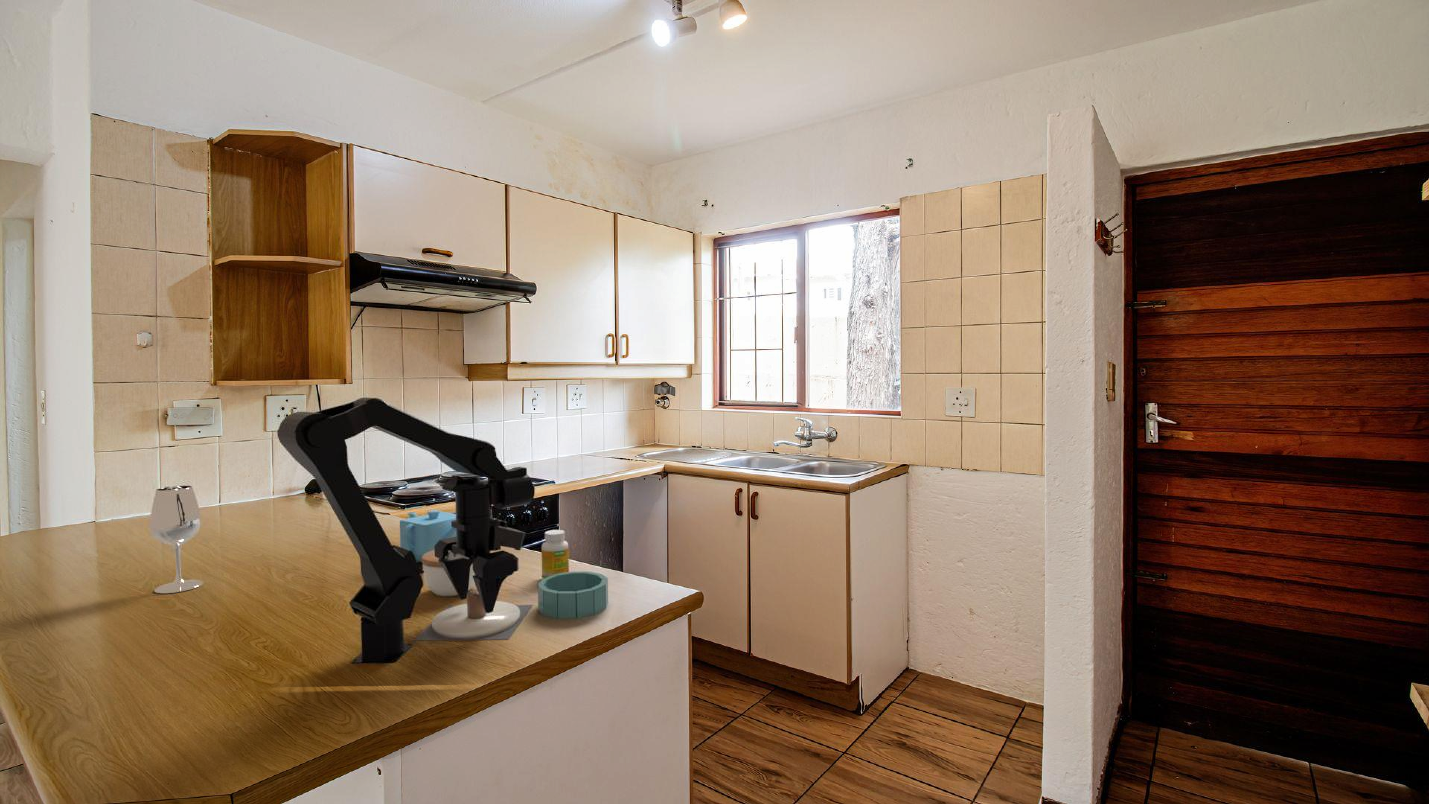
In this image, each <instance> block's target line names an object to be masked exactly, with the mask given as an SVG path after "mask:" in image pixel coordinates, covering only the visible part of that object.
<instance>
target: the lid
mask: <svg viewBox="0 0 1429 804" xmlns="http://www.w3.org/2000/svg"><path fill="white" fill-rule="evenodd" d="M516 605H517V604H513V603H511V602H507V601H502V600H501V601H500V600H496V603H495V606H494V609H493V612H491V613H486V612H485V610H484V607H483V605H482V602H481V599H480V596H479V593H478V590H477V589H473V590H472V589H471V590H469V591H468V593H467V598H466V603H463V604H459V605H454V606H455V607H452V608H449V609H447V608H446V609H447V610H446V609H444V610H443V611H441V612H439V613H437V614H436V615H435V616H434V617H433V618H432V619H431V623H432V630H433V632H434V633H436V634H437V635H440V636H443V637H447V638H459V639H463V638H476V637H483V636H488V635H492V634H495V633H499V632H501V631H504V630H506V629H508V628H510V627H512V626H514V625H515V624H516V623H517V622H518V621H519V619H520V609H519V608H518V607H517V606H516Z"/></svg>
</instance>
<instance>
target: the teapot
mask: <svg viewBox="0 0 1429 804" xmlns="http://www.w3.org/2000/svg"><path fill="white" fill-rule="evenodd" d="M406 513H407V515H408V516H409V518H405V519H401V520H399V539H400V540H399V541H400V546H399V547H401V548H404V549H407V550H410V551H412V552H413V554H414V556H415V559H416V562H417V564H419V563H422V556H423V555H424V554H425V553H427V552H430V551H433V550H435V549H434V546H435V545H436V544H437V542H438V541H439V540H442V539H447V538H452V537H456V528H453V527H451V521H453V520H456V513H453V512H448V511H447V512H446V511H443V510H442V511H440V510H439V509H433V510H432V509H431V510H429V511H427V514H423V515H417V514H416V513H415V512H412V511H408V512H406Z"/></svg>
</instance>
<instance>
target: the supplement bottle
mask: <svg viewBox="0 0 1429 804" xmlns="http://www.w3.org/2000/svg"><path fill="white" fill-rule="evenodd" d="M565 534H566V532H565V530H563V529H551V530H547V531H545V532H544V540H545V542H543V543H542V544H541V578H542V579H541V580H543V579H544V578H547V577H549V576H552V575H555V574H560V573H566V572H570V571H569V570H570V568H569V567H570V561H569V559H570V558H569V556H570V555H569V553H570V552H569V543H568V542H567V541H566V540H565V536H566V535H565Z"/></svg>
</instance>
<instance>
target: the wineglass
mask: <svg viewBox="0 0 1429 804" xmlns="http://www.w3.org/2000/svg"><path fill="white" fill-rule="evenodd" d="M200 511H201V510H200V507H199V503H198V500H197V497H196V494H195V490H194V488H193V486H192V485H173V486H172V485H171V486H165V487H160V488H156V489H155V493H154V497H153V501H152V507H151V513H150V521H149V527H150V528H149V529H150V532H151V534H152V536H153V538H155V539H156V540H157V541H158V542H160V543H162V544H165V545H167V546H172V547H173V551H174V555H175V558H174V559H175V573H176V574H175V579H174V580H173V581H172V582H169V583H165V584H161V585H160V586H157V587H156V588H154V591H153V592H155V593H157V594H167V595H168V594H176V593H183V592H186V591H190V590H194V589H196V588H198V587H201V586H203V584H204V581H203V580H200V579H186V580H185V579H184V578H183V577H182V570H181V548H182V546H183V544H186V543H187V542H189V541H190V540H192V539H193V538H194V537H195V536H196V535H197V533H198V532H199V531H200V529H201V525H202V518H201V512H200Z"/></svg>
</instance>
